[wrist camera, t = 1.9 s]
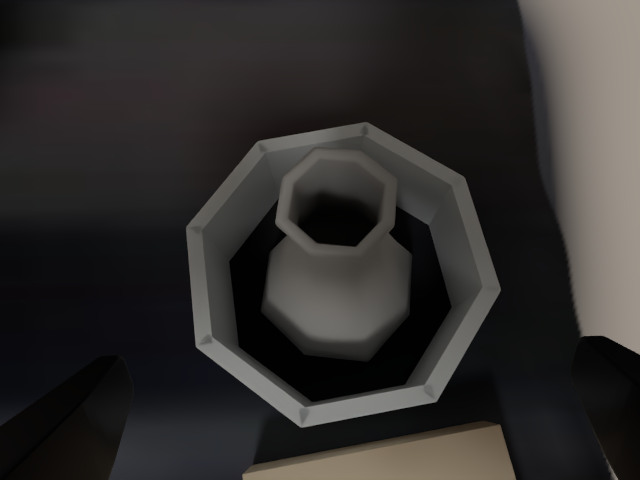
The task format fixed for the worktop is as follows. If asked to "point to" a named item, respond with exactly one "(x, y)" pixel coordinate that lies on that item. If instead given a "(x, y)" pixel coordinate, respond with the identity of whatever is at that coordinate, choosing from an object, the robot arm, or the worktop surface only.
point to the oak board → (404, 458)
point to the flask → (337, 257)
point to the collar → (412, 196)
